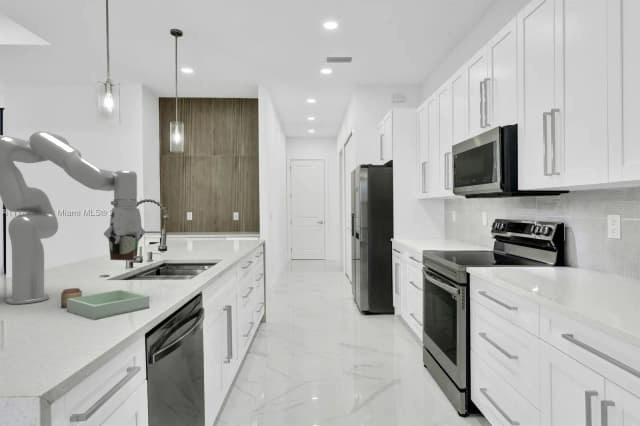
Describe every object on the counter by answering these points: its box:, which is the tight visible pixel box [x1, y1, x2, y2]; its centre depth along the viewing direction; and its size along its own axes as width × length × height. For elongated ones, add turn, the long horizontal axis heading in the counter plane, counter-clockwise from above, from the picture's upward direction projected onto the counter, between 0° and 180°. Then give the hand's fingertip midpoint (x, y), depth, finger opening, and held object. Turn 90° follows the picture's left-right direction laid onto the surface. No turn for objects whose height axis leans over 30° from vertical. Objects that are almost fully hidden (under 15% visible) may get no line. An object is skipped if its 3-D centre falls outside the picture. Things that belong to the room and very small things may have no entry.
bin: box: [66, 289, 150, 321], centre depth 133 cm, size 18×18×4 cm
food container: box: [108, 232, 142, 262], centre depth 147 cm, size 12×6×10 cm, turn 80°
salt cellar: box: [60, 287, 83, 309], centre depth 137 cm, size 6×6×6 cm
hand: (125, 253), depth 146 cm, fingers closed on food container, 6 cm apart
